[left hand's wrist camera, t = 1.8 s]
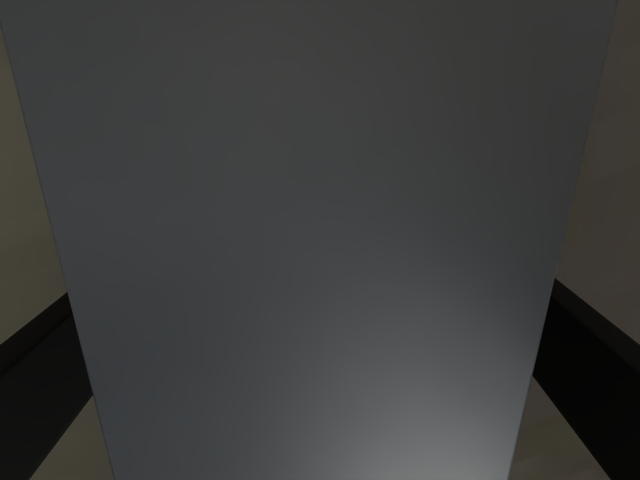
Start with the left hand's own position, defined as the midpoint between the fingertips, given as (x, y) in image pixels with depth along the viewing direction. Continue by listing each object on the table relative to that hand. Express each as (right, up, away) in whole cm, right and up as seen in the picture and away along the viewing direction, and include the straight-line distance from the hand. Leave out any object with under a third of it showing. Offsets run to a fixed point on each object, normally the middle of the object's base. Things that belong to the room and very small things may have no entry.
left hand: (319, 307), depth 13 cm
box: (0, +9, +2) cm, 9 cm away
